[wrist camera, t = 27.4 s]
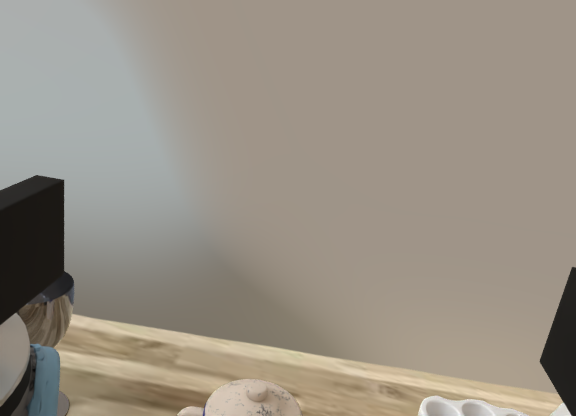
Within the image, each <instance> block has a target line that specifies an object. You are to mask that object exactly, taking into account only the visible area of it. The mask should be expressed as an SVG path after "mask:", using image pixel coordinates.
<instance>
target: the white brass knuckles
mask: <svg viewBox="0 0 576 416" xmlns="http://www.w3.org/2000/svg"><path fill="white" fill-rule="evenodd" d="M418 416H529V415H527V414H524V413H522V412H519V411H517V410H515V409H512V408H500V407H496V406H493V405H491V404H488V403H486V402H485V401H482V400H473V399H466V400H462V401H453V400H448V399H445V398H442V397H440V396H431V397H428V398H426V399H425V400H423V402H422V403H421V406H420V409H419V413H418Z"/></svg>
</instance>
